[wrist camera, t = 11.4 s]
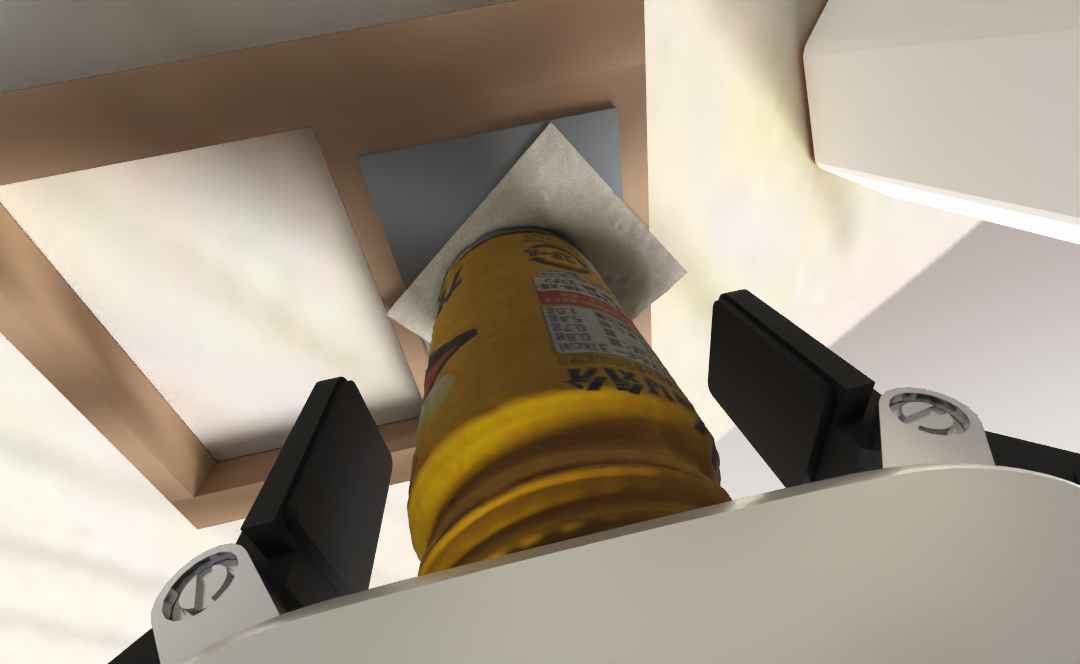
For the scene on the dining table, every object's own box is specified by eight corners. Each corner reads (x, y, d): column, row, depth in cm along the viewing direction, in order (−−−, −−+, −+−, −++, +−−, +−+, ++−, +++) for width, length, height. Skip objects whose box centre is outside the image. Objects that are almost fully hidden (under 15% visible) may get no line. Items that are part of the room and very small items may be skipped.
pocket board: (-108, 124, 12) (-220, 130, 10) (620, -8, 13) (647, -25, 11) (219, 493, 21) (193, 535, 19) (638, 398, 22) (655, 428, 20)
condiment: (386, 312, 15) (205, 802, 5) (550, 121, 13) (911, 262, 2) (532, 406, 18) (614, 819, 8) (683, 268, 16) (1080, 600, 6)
